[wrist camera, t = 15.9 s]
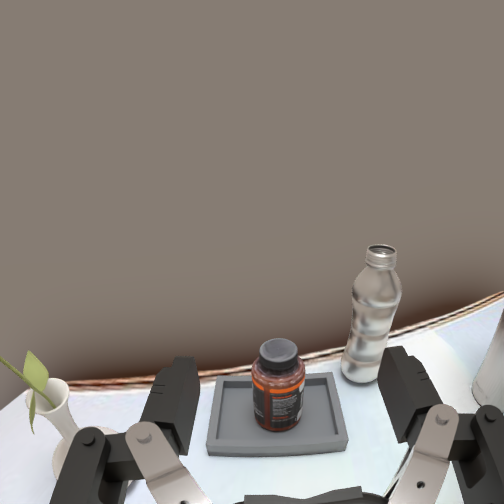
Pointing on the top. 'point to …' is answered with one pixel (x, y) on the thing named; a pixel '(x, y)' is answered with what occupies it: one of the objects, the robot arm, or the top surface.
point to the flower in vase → (50, 406)
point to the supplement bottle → (278, 385)
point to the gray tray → (275, 442)
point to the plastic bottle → (371, 314)
